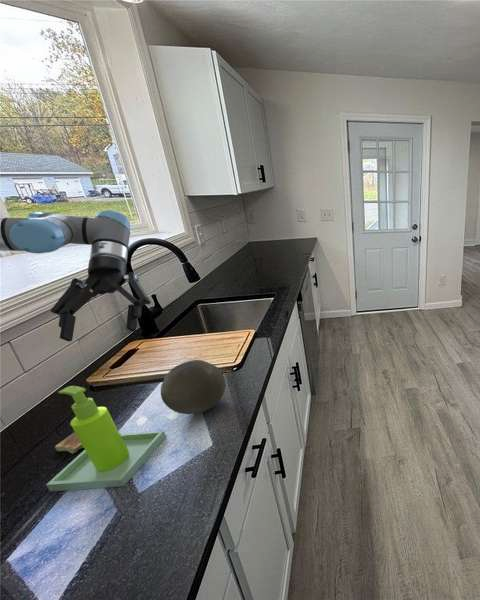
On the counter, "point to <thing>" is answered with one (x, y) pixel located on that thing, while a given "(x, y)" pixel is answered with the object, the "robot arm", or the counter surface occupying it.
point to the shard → (70, 444)
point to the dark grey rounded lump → (193, 387)
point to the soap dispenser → (96, 431)
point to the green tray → (87, 477)
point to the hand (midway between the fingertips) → (99, 334)
